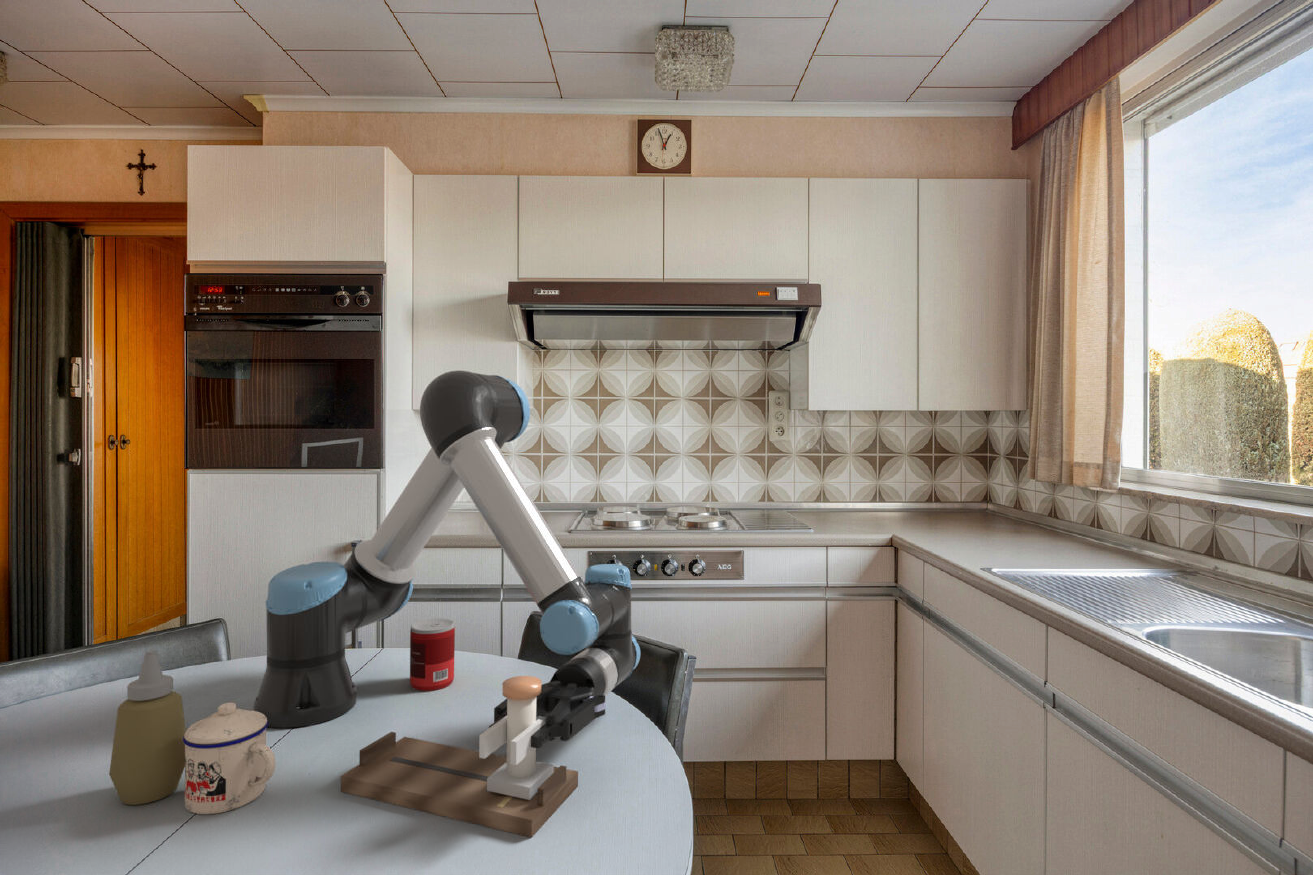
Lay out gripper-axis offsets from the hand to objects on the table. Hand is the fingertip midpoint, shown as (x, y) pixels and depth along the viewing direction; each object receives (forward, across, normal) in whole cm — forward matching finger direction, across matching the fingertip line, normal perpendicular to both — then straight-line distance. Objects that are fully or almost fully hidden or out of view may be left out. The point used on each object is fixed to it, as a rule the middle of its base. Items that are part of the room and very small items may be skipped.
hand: (497, 749), depth 80 cm
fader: (-5, 0, -7) cm, 9 cm away
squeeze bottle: (+10, +45, -9) cm, 47 cm away
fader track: (-5, +9, -9) cm, 14 cm away
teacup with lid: (+7, +34, -9) cm, 36 cm away
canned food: (-34, +36, -9) cm, 51 cm away
